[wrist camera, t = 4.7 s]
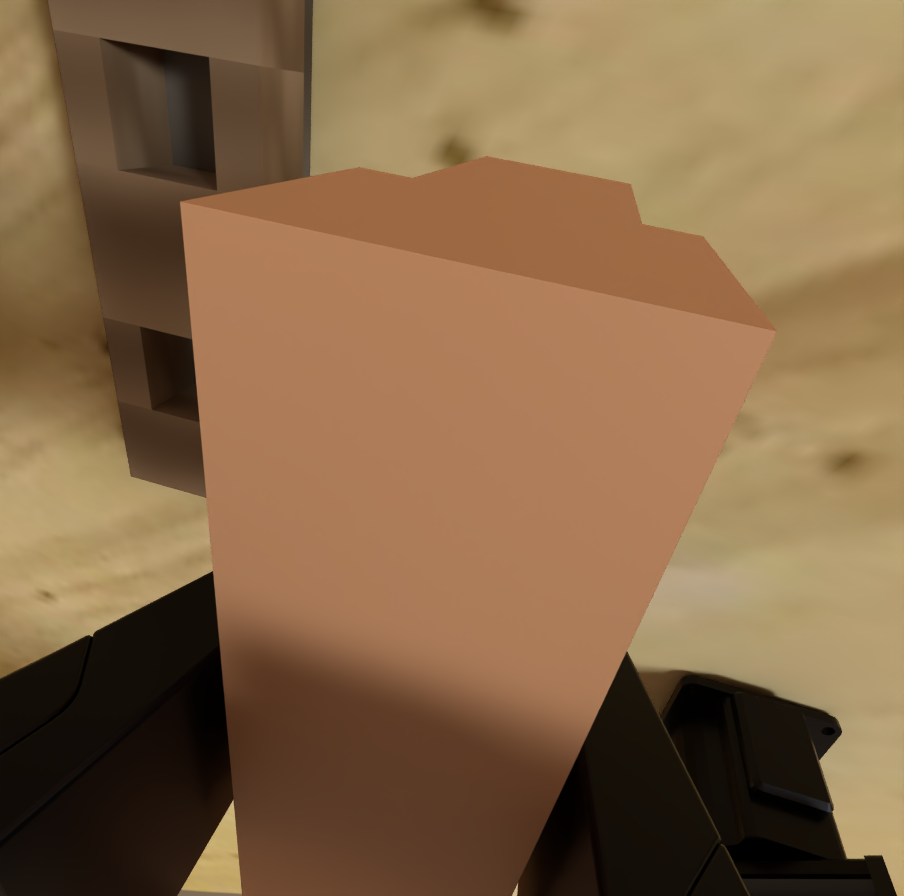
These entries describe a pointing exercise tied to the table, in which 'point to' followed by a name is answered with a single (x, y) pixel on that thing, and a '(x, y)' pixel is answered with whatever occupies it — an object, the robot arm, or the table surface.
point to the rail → (173, 176)
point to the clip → (440, 498)
